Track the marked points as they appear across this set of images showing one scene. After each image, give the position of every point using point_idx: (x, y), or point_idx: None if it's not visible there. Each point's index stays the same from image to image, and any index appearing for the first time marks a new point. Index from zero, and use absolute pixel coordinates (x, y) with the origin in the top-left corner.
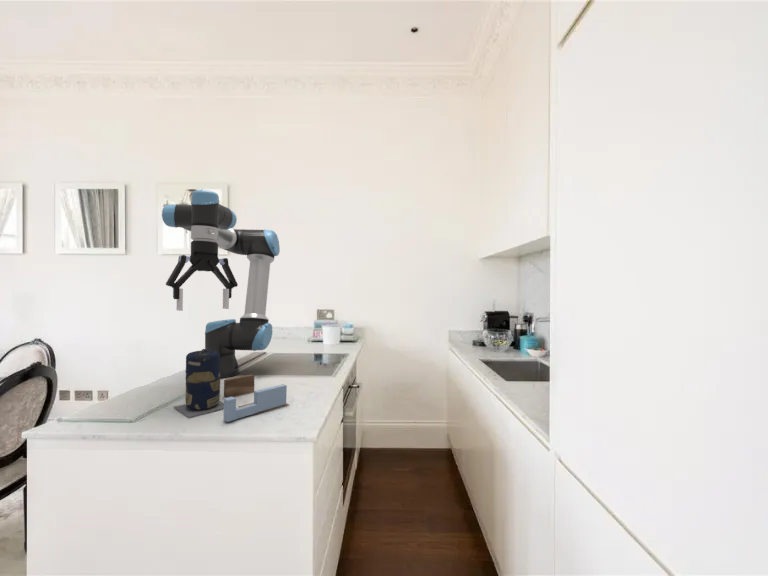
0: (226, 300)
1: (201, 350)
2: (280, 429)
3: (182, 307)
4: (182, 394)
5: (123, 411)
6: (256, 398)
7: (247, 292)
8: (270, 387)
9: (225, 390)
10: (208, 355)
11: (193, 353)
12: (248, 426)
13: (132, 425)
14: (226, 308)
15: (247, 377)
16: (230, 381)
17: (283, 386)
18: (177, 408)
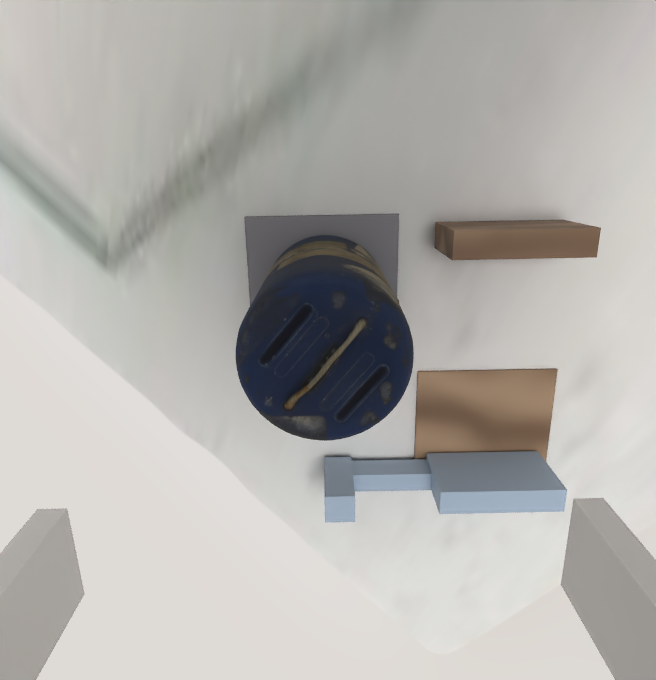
0: (614, 676)
1: (306, 388)
2: (407, 594)
3: (66, 623)
4: (325, 36)
5: (88, 112)
6: (435, 493)
7: None
8: (507, 493)
9: (441, 242)
10: (322, 438)
11: (277, 338)
12: (359, 528)
13: (104, 297)
14: (563, 588)
15: (557, 257)
16: (469, 258)
17: (549, 511)
18: (249, 247)
